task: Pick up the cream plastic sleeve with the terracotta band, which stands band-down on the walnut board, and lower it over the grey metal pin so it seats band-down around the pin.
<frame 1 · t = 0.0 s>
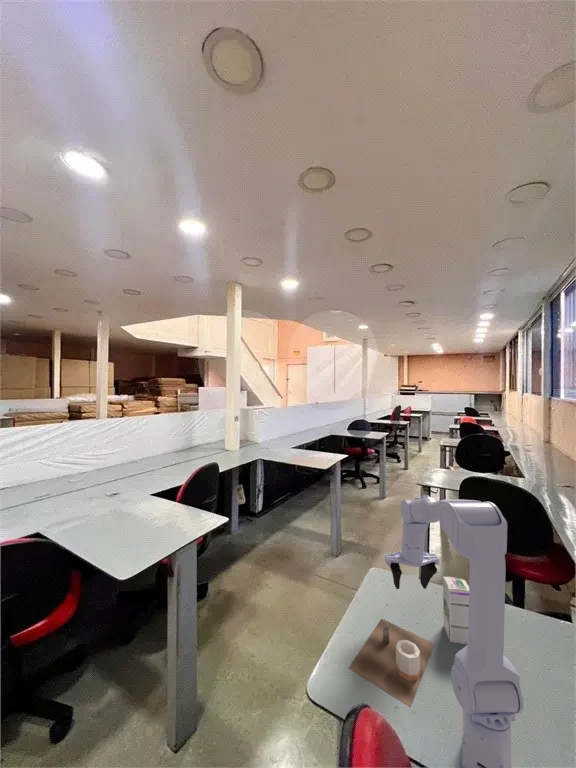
hand: (409, 586, 86), 11 cm above the table, tool pointing down, fingers open, 7 cm apart
pin board: (393, 659, 75), on the table
sleeve: (407, 670, 70), point 1 cm above the table, touching pin board
syrup box: (457, 639, 81), on the table
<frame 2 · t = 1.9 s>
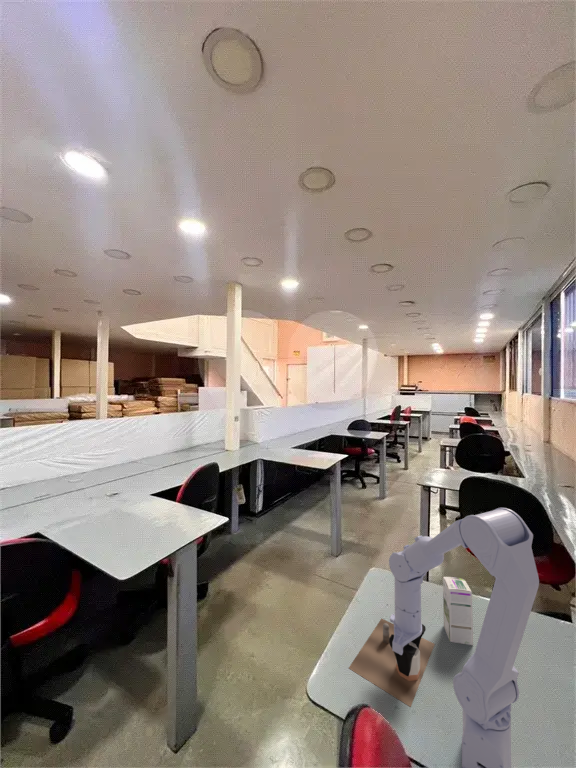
hand: (407, 664, 71), 2 cm above the table, tool pointing down, fingers closed on sleeve, 5 cm apart
sleeve: (407, 670, 70), point 1 cm above the table, touching gripper, pin board
everything else where it was.
when the fingers open (3 cm above the table, at t = 5.8 s): sleeve drops 1 cm, resting on pin board.
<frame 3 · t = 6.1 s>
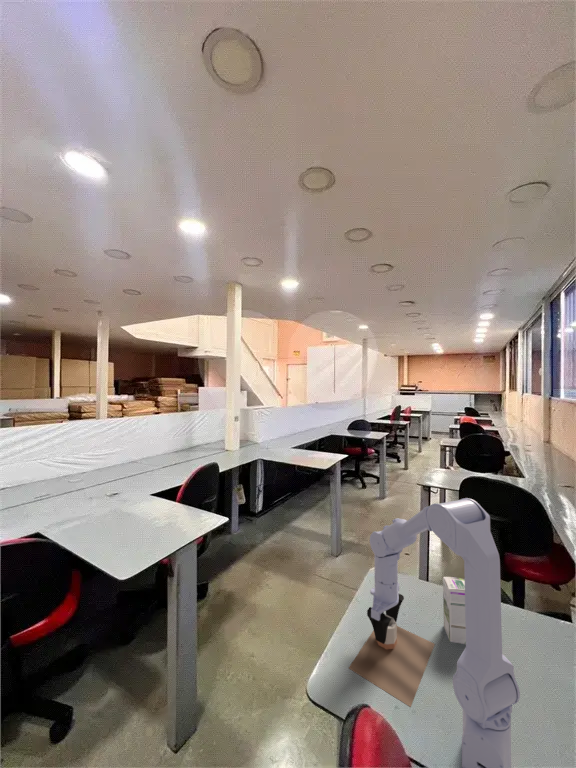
hand: (386, 631, 79), 3 cm above the table, tool pointing down, fingers open, 7 cm apart
sleeve: (386, 641, 79), point 1 cm above the table, touching pin board
everything else where it was.
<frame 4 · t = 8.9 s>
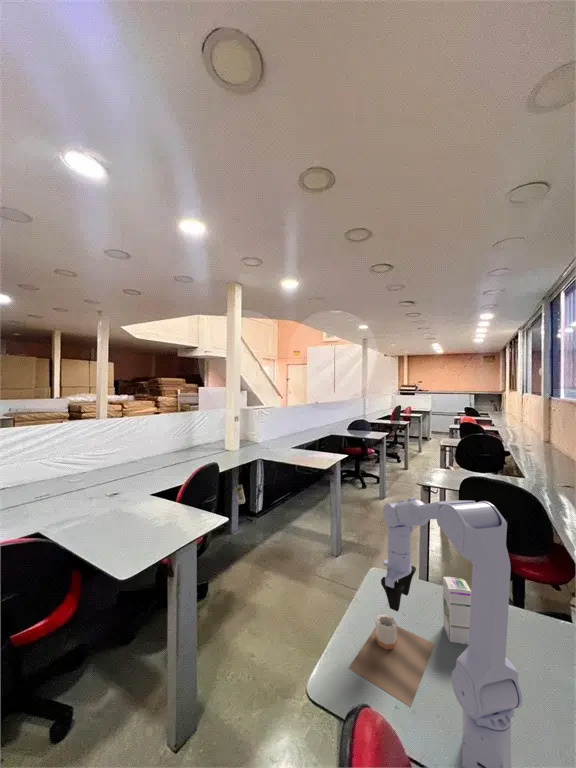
hand: (399, 601, 81), 10 cm above the table, tool pointing down, fingers open, 7 cm apart
nothing on the table moved.
at the end: sleeve 0.0 cm from the target spot on the pin board, point 1.0 cm above the pin board's base; sleeve tilted 0°; the gripper is holding nothing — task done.
